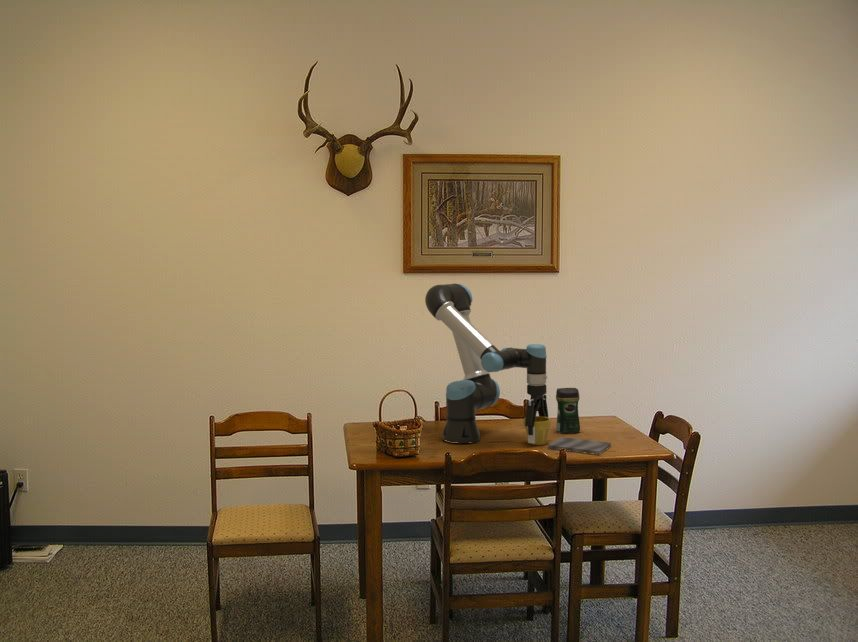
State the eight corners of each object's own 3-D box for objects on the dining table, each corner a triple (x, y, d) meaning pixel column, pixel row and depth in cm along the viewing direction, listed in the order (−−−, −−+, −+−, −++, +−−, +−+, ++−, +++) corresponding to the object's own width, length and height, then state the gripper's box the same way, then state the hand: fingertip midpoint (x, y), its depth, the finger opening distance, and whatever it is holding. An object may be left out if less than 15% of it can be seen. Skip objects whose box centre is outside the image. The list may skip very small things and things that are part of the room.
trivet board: (547, 448, 274) (547, 445, 274) (561, 440, 286) (561, 436, 286) (599, 455, 264) (599, 451, 263) (610, 446, 275) (610, 442, 275)
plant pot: (523, 446, 278) (523, 421, 278) (523, 439, 289) (523, 415, 288) (550, 446, 277) (550, 421, 276) (550, 440, 287) (550, 416, 286)
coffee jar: (576, 429, 304) (576, 385, 303) (581, 433, 297) (581, 389, 295) (554, 430, 304) (553, 386, 302) (558, 434, 296) (558, 389, 294)
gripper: (533, 389, 269) (534, 447, 271) (556, 380, 288) (557, 434, 290) (515, 388, 273) (516, 445, 275) (539, 378, 292) (539, 432, 294)
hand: (537, 439), depth 283 cm, fingers closed on plant pot, 10 cm apart
